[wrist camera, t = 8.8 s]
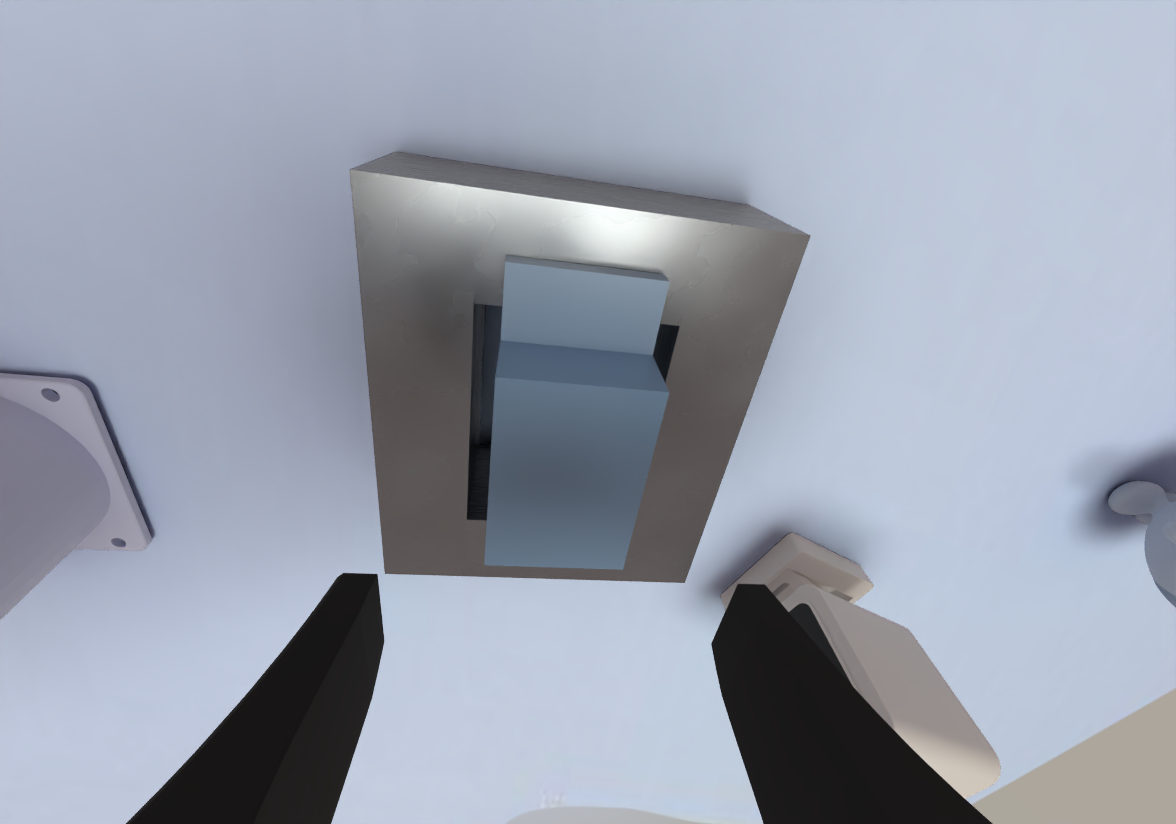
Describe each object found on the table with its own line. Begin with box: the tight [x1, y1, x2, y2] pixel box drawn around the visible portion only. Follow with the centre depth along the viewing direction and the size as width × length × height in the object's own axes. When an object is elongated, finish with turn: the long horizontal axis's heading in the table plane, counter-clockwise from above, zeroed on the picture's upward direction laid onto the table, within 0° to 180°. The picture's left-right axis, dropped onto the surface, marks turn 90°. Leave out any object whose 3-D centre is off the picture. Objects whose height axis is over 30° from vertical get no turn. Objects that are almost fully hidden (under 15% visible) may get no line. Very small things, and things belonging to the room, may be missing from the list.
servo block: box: [484, 255, 670, 570], centre depth 16 cm, size 4×10×7 cm, turn 172°
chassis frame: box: [350, 152, 810, 583], centre depth 17 cm, size 11×13×4 cm
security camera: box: [721, 533, 1001, 799], centre depth 22 cm, size 6×7×10 cm
